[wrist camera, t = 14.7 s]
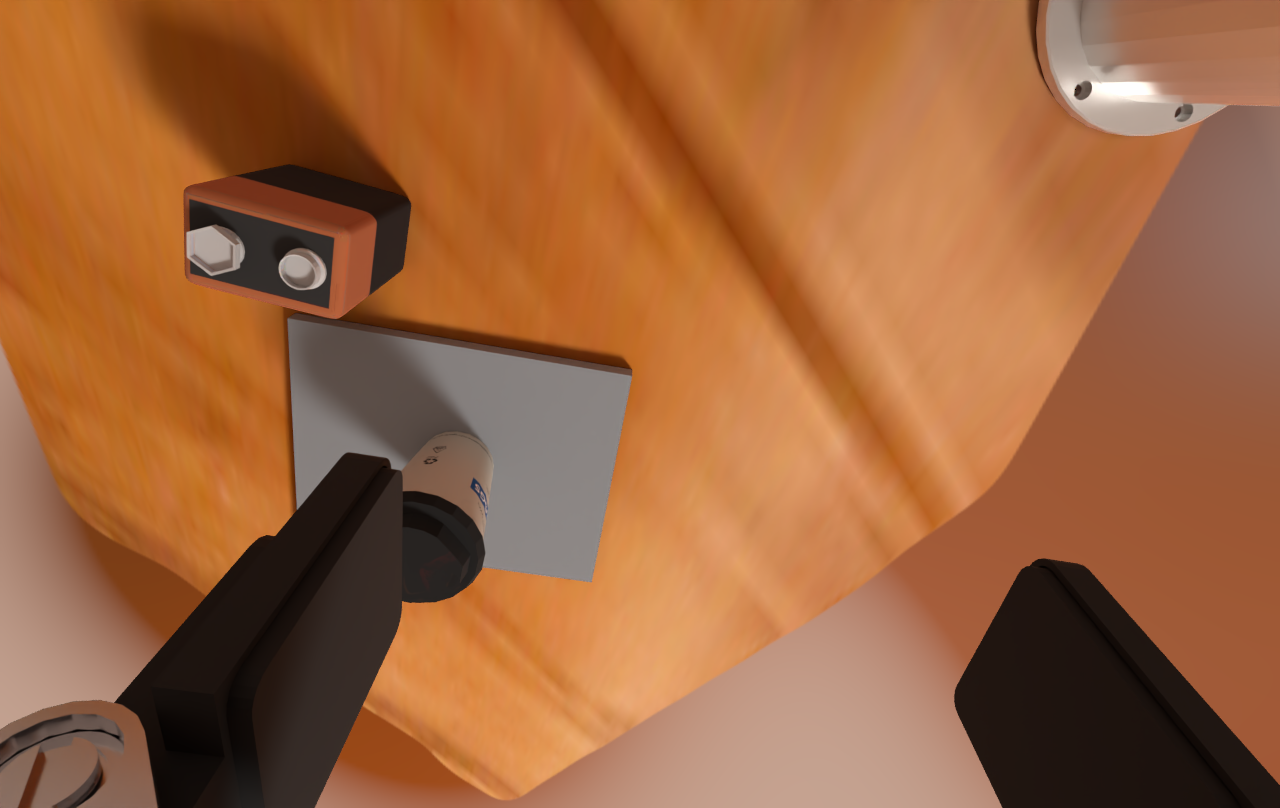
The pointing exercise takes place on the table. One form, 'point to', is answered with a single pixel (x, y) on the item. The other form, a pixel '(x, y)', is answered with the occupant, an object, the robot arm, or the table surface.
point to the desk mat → (467, 428)
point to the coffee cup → (444, 516)
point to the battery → (294, 238)
